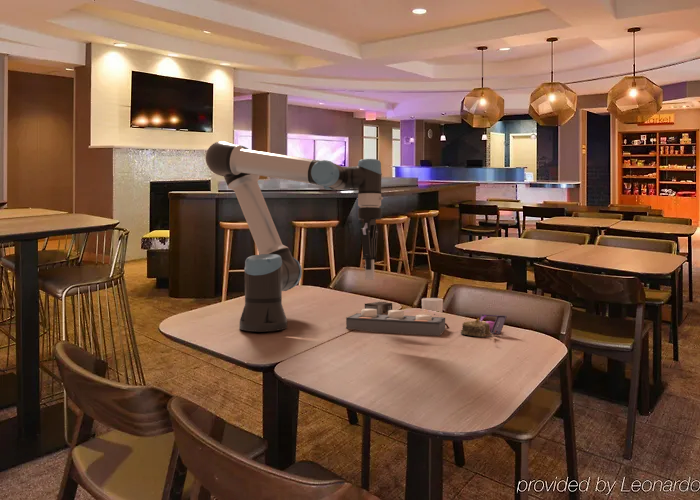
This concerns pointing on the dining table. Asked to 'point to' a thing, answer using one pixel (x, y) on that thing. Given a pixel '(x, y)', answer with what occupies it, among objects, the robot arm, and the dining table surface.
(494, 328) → the purple toy box
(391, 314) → the button middle
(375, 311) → the button left
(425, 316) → the button right
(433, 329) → the console
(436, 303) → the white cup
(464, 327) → the beige textured round piece
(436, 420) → the dining table surface
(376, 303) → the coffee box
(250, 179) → the robot arm
